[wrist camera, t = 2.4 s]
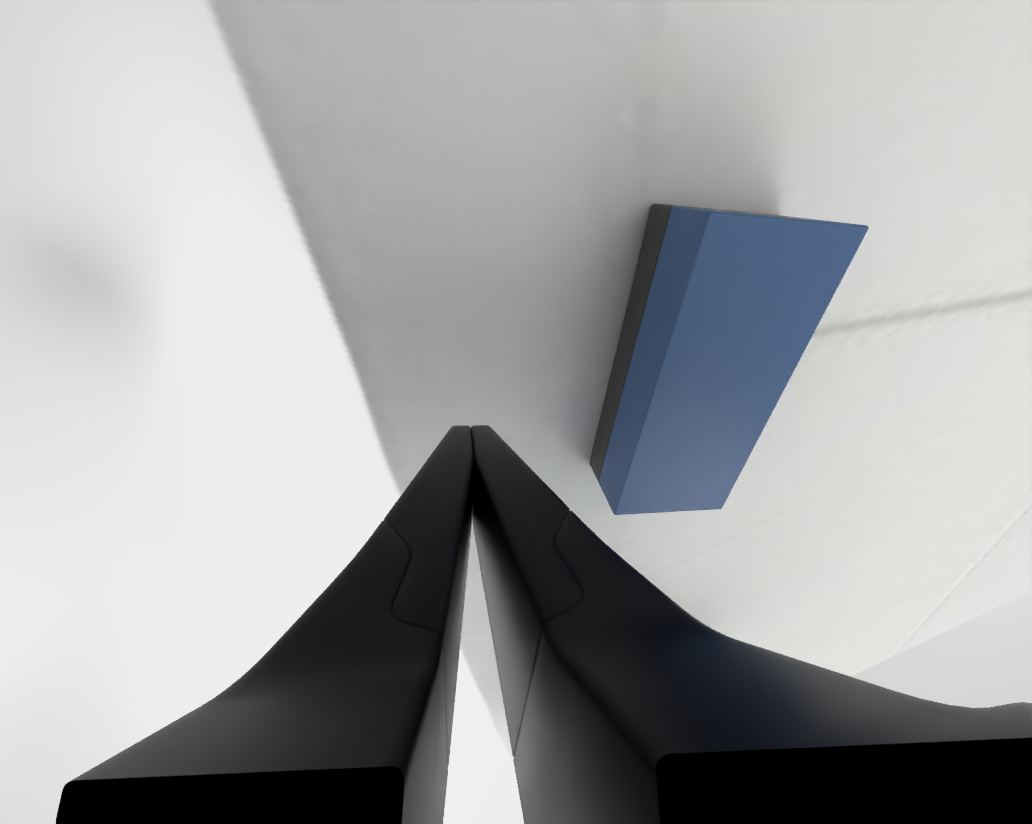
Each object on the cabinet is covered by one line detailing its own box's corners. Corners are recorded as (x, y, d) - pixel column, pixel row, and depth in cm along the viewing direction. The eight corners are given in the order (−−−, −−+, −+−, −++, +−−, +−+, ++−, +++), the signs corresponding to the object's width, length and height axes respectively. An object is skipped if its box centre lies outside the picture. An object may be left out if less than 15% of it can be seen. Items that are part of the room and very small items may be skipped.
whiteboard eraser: (682, 460, 17) (721, 509, 15) (588, 463, 16) (614, 515, 14) (781, 216, 12) (871, 226, 9) (651, 203, 11) (710, 210, 9)
